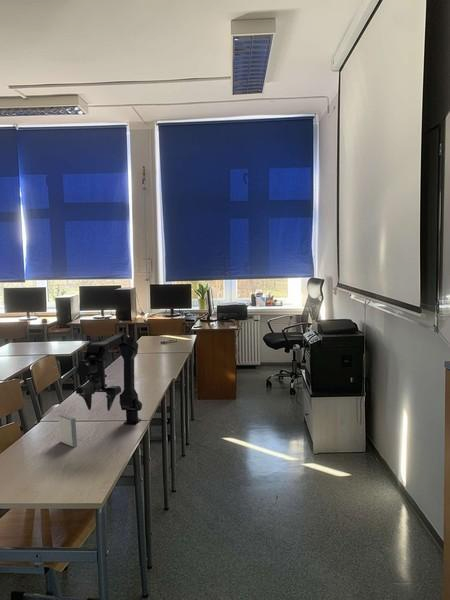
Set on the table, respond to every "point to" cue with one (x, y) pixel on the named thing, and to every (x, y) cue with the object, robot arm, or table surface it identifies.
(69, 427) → the grey tile
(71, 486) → the table surface
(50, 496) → the table surface
